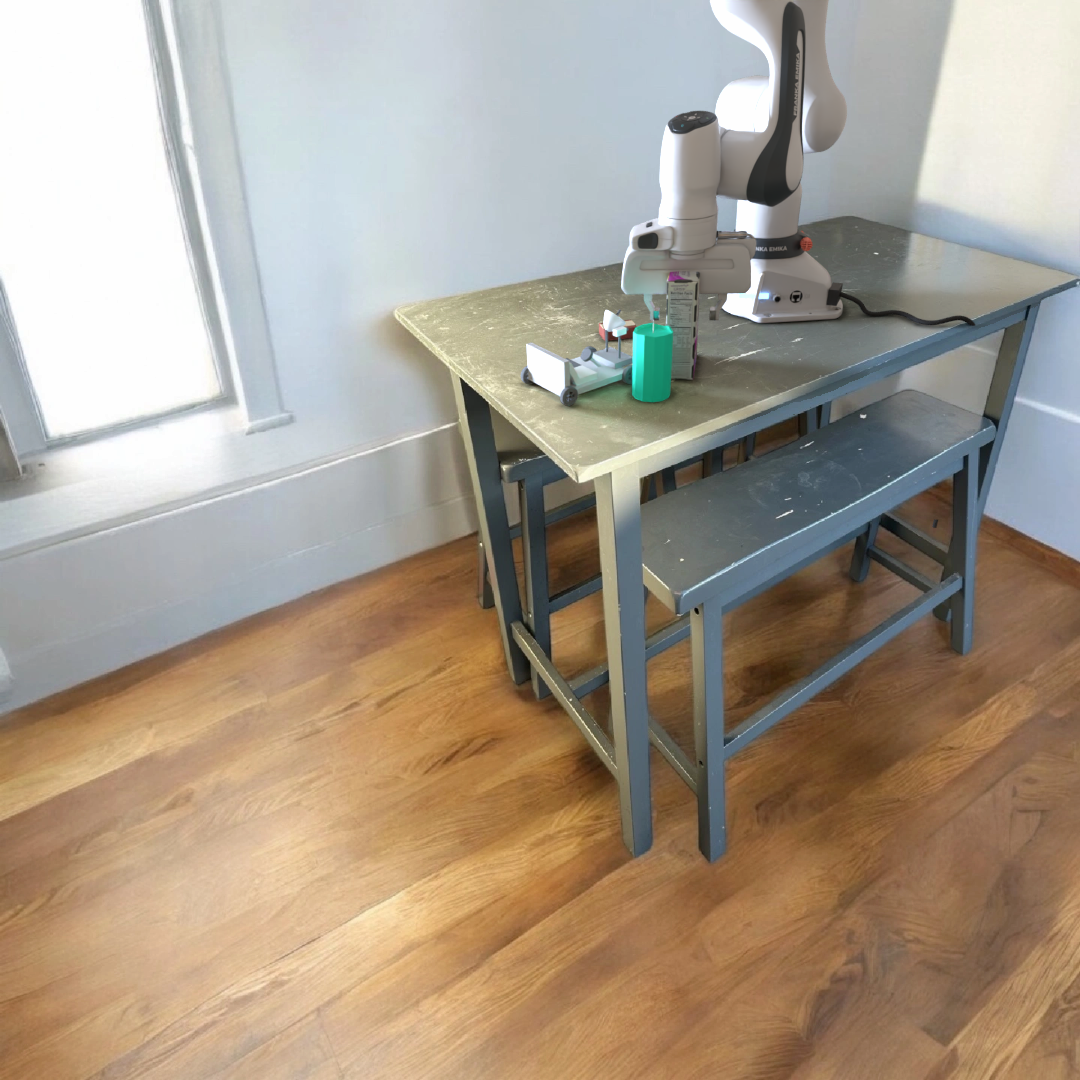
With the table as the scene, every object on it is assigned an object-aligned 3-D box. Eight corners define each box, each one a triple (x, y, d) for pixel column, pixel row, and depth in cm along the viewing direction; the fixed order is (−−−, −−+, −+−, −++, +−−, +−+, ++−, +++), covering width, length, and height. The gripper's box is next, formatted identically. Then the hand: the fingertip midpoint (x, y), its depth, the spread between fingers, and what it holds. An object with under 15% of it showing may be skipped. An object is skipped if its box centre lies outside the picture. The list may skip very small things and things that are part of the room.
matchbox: (630, 329, 157) (630, 318, 156) (636, 337, 154) (637, 326, 153) (598, 333, 156) (598, 322, 155) (604, 341, 153) (604, 330, 152)
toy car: (606, 300, 141) (653, 318, 133) (606, 356, 147) (651, 377, 139) (517, 326, 133) (561, 347, 125) (520, 385, 139) (563, 408, 131)
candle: (660, 405, 130) (663, 329, 123) (625, 397, 133) (626, 323, 126) (676, 390, 134) (680, 316, 127) (642, 383, 137) (644, 310, 130)
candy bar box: (667, 353, 147) (671, 257, 138) (697, 354, 146) (703, 257, 137) (662, 380, 138) (666, 279, 129) (693, 381, 137) (699, 279, 128)
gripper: (756, 224, 131) (748, 312, 139) (622, 227, 134) (623, 312, 142) (758, 236, 126) (751, 326, 134) (620, 238, 129) (620, 326, 137)
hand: (684, 319), depth 138 cm, fingers open, 8 cm apart
